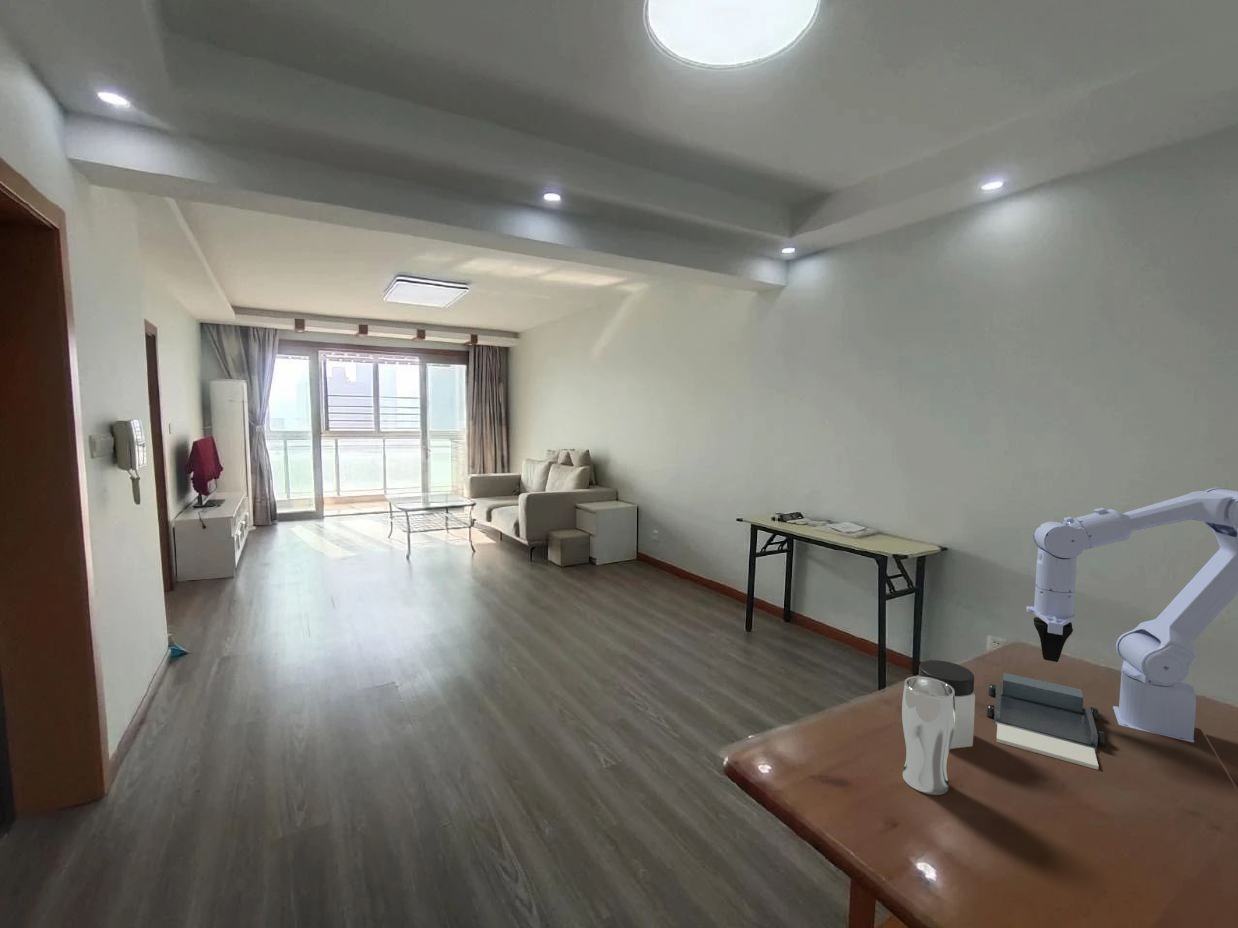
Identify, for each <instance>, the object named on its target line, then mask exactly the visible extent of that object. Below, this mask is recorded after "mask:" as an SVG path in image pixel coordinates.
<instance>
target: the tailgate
mask: <svg viewBox="0 0 1238 928" xmlns="http://www.w3.org/2000/svg"><path fill="white" fill-rule="evenodd" d="M994 724H995V725H994V726H995V727H996V743H998V744H999V743H1000V744H1002V745H1007V746H1009V747H1014V748H1018V749H1021V750H1025V751H1028V752H1032V753H1036V754H1040V755H1042V756H1046V757H1051V758H1054V759H1057V760H1062V761H1064V762H1068V763H1071V764H1076V765H1080V766H1082V767H1086V768H1090V769H1092V770H1097V771H1098V770H1099V763H1098V758H1097V754H1096V753H1097V749H1096V747H1093V746H1089V745H1085V744H1081V743H1077V742H1073V741H1070V740H1066V739H1062V738H1058V737H1054V736H1050V735H1046V734H1043V733H1039V732H1035V731H1031V730H1027V729H1023V728H1019V727H1015V726H1012V725H1008V724H1004V723H1000V722H996V721H995V722H994Z"/></svg>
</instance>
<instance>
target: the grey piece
mask: <svg viewBox="0 0 1238 928" xmlns="http://www.w3.org/2000/svg"><path fill="white" fill-rule="evenodd" d="M1002 673H1003V674H1002V686H999V685H996V684H991V683H989V689H988V690H989V691H988V695H989V696H990V697H995V701H994V704H990V703H988V704H987V709H986V714H987V715H986V717H988V718H991V719H993V723H995V721H996V722H1000V723H1004V724H1008V725H1012V726H1015V727H1019V728H1023V729H1027V730H1031V731H1035V732H1039V733H1043V734H1046V735H1050V736H1054V737H1058V738H1062V739H1066V740H1070V741H1073V742H1077V743H1081V744H1085V745H1089V746H1093V747H1096V750H1097V749H1098V746H1099V747H1104V748H1105V747H1106V734H1105V732H1103V731H1099V730H1097V727H1096V723H1095V721H1096V722H1099V721H1098V720H1099V708H1098V707H1094V706H1087V705H1084V694H1083V690H1082V689H1080V688H1076V687H1072V686H1066V685H1063V684H1058V683H1054V682H1049V681H1044V680H1041V679H1040V680H1039V679H1035V678H1031V677H1030V678H1029V677H1025V676H1020V675H1015V674H1010V673H1006V672H1002ZM1083 707H1084V709H1083ZM1083 710H1084V714H1083Z"/></svg>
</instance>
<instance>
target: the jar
mask: <svg viewBox="0 0 1238 928" xmlns="http://www.w3.org/2000/svg"><path fill="white" fill-rule="evenodd" d="M918 676H922V677H929V678H934V679H937V680H940V681H943V682H945V683H947V684H948V685H950V686H951V687H952V688H953V689H954V691H955V728H954V734H953V738H952V742H951V746H950V749H951V750H952V749H960V748H967V747H969V748H970V747H974V746H973V745H974V726H975V709H976V708H975V707H976V706H975V704H976V694H975V692H974V690H975V689H974V688H975V687H974V686H975V675H974V672H973V671H971V670H970V669H968V668H967V667H964V665H960V664H958V663H954V662H950V661H946V660H937V659H934V660H933V659H931V660H924V661H922V662H920V664H919V666H918ZM950 749H949V750H950Z"/></svg>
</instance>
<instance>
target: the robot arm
mask: <svg viewBox="0 0 1238 928" xmlns="http://www.w3.org/2000/svg"><path fill="white" fill-rule="evenodd" d="M1093 512H1094V513H1089V514H1087V515H1082V516H1078V517H1074V518H1073V517H1071V516H1067V517H1063V522H1062V523H1061V522H1059V521H1058V522H1057V521H1046V522H1043V523H1042V524H1040V526H1039V527H1037V528H1036V529H1035V533H1034V534H1032V536H1031V537H1032V541H1033V543H1034V545H1035V546H1036V547H1037V557H1036V566H1035V567H1036V571H1035V587H1034V605H1033V606H1032V605H1031V606H1030V605H1027V606H1026V609H1025V611H1026V612H1027V613H1031V614H1034V616H1036V617H1033V625H1034V627H1035V629H1036V632H1037V634H1038V636H1039V640H1040V646H1041V653H1042V658H1043V660H1044V661H1045V660H1046V661H1048V662H1053V663H1054V662H1055V663H1058V662H1059V661H1060V659H1061V656H1062V651H1063V649H1064V646H1065V644H1066V642H1067V640H1068V639H1069V637H1070V636H1072V633H1073V632H1074V629H1073V623H1072V622H1073V621H1075V620H1076V619H1075V618H1076V617H1075V616H1076V615H1075V613H1074V611H1075V610H1074V609H1075V596H1076V577H1077V557H1079V555H1081V554H1082V553H1083V551H1085V550H1090V549H1093V548H1099V547H1103V546H1107V545H1111V544H1115V543H1119V542H1124V541H1127V540H1128V539H1129V538H1130V537H1131V536H1132V534H1133V532H1134V531H1141V530H1145V529H1149V528H1154V527H1156V528H1157V527H1160V526H1165V525H1170V524H1175V523H1181V522H1185V521H1197V522H1198V521H1199V522H1201V523H1204V524H1205V525H1206V526H1207V527H1208V528H1209V529H1210V530H1211V531H1212V532H1213V534H1214V536H1215V538H1216V541H1217V543H1218V545H1219V549H1218V550H1217V551H1216V552H1215V553H1214V554H1213V555H1212V556H1211V558H1210V559H1208V561H1207V562H1206V563H1205V564H1204V565H1203V567H1202V568H1201V569H1200V570H1199V571H1198V572H1196V574H1195V575H1194V577H1192V578H1191V579H1190V580H1189V582H1187V584H1186V585H1185V586H1184V587H1183V588H1182V590H1181V591H1180V592H1179V593H1178V594H1177V595H1176V596H1175V597H1174V598H1173V599H1172V600H1171V602H1169V604H1168V605H1167V606H1166V607H1165V608H1164V609H1163V611H1162V612H1161V613H1160V614H1159V615H1158V616H1157V617H1156V618H1154V619H1150V620H1147V621H1143V622H1142V621H1141V622H1140V623H1139V624H1138V625H1137V626H1136V627H1135V628H1133V629H1132V630H1129V631H1126V632H1124V633H1122V634H1121V635H1120V636H1119V637H1118V639H1117V640H1116V643H1115V650H1116V652H1117V654H1118V656H1120V658H1121V659H1122V660H1123V661H1122V665H1121V675H1120V686H1119V701H1118V706H1116V705H1114V706H1112V709H1113V712H1114V715H1115V717H1116V721H1117V723H1118V725H1120V726H1122V727H1126V728H1131V729H1134V730H1138V731H1144V732H1147V733H1151V734H1154V735H1155V734H1156V735H1160V736H1165V737H1168V738H1173V739H1177V740H1181V741H1185V742H1190V743H1195V740H1194V737H1195V723H1196V715H1197V714H1196V713H1197V698H1196V697H1197V696H1196V691H1195V688H1194V686H1193V685H1192V684H1189V683H1186V682H1183V681H1184V680H1185V679H1186V678H1187V676H1188V674H1189V669H1190V666H1191V663H1192V662H1193V661H1194V660H1195V658H1196V657H1197V651H1196V646H1195V640H1196V639H1197V638H1198V637H1199V636H1200V635H1201V634H1202V633H1203V632H1204V631H1205V630H1206V628H1207V627H1209V625H1210V624H1212V622H1213V621H1214V620H1215V619H1216V618H1217V617H1218V616H1219V615H1220V614H1221V612H1222V611H1223V610H1224V609H1225V608H1226V607H1227V606H1228V605H1229V604H1230V603H1231V602H1233V600H1234V599H1235V598H1236V597H1237V596H1238V491H1237V490H1232V489H1229V488H1226V487H1212V488H1209V489H1206V490H1196V491H1191V492H1189V493H1186V494H1183V495H1181V496H1178V497H1174V498H1171V499H1167V500H1163V501H1160V502H1156V503H1154V504H1153V503H1152V504H1150V505H1146V506H1143V507H1139V508H1136V509H1133V510H1128V511H1126V512H1120V511H1118V510H1115V509H1113V508H1110V509H1106V508H1103V507H1100V508H1099V507H1098V508H1095V509H1093Z"/></svg>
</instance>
